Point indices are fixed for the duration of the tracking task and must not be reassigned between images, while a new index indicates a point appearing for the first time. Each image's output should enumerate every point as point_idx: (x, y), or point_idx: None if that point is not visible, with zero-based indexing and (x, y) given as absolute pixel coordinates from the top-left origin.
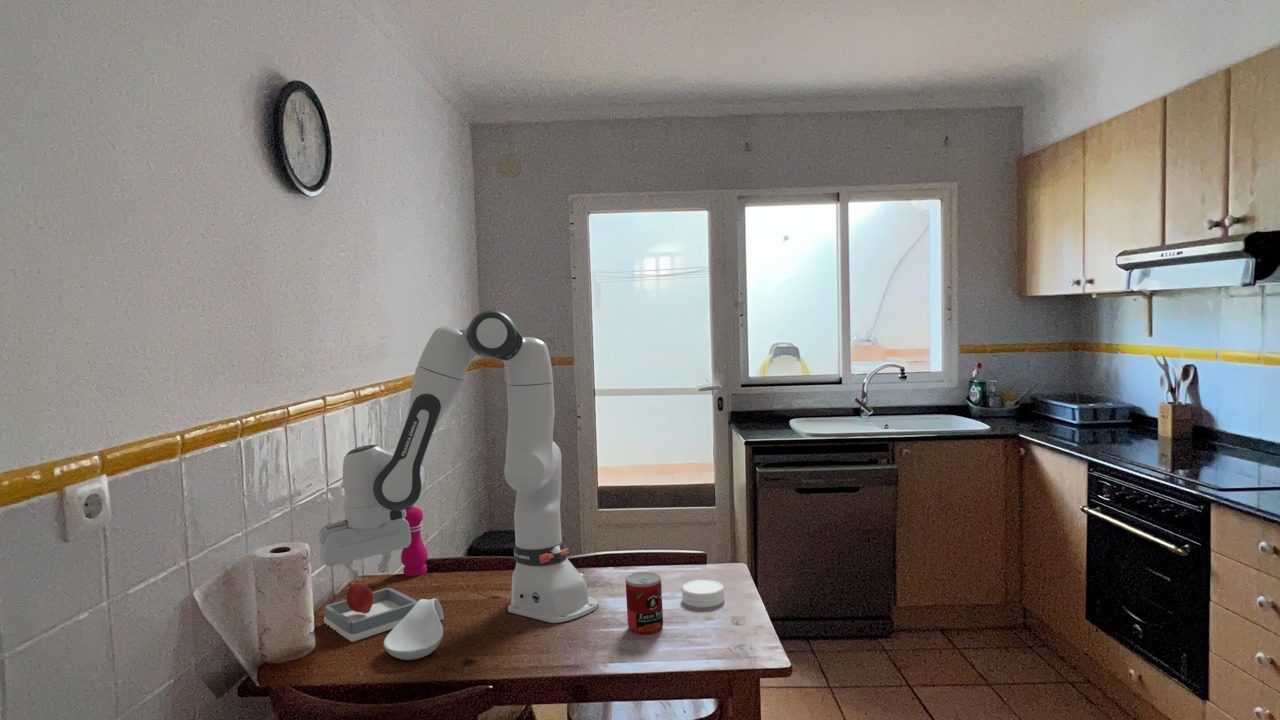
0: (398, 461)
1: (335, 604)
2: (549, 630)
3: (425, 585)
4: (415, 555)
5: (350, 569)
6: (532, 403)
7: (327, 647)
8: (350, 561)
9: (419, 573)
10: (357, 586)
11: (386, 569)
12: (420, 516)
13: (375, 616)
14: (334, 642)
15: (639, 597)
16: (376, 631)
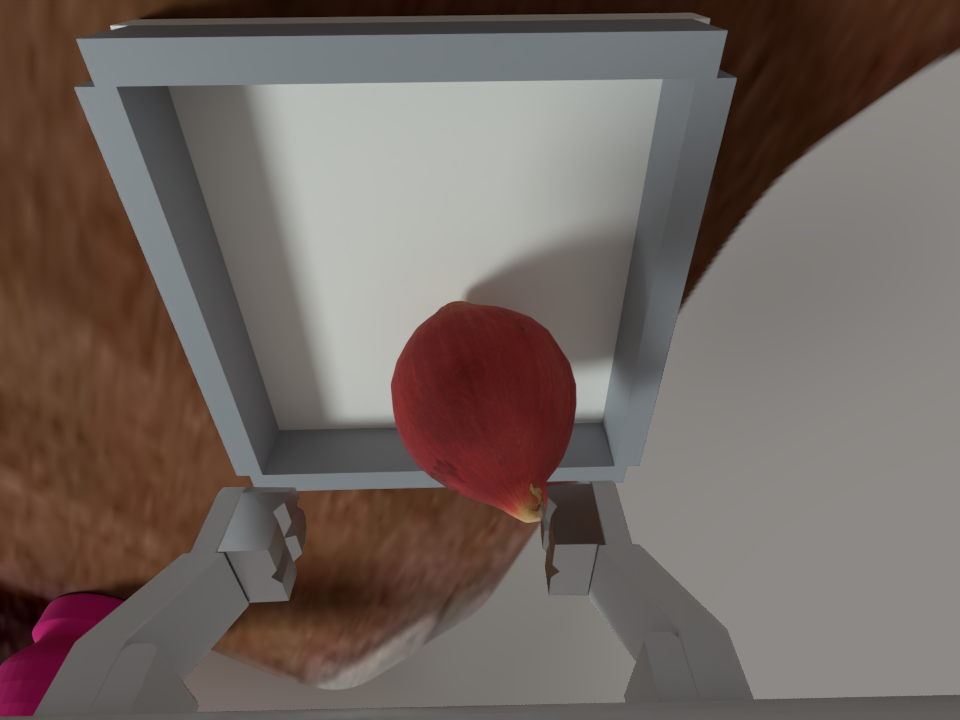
0: None
1: (578, 466)
2: None
3: (63, 498)
4: (41, 694)
5: (664, 584)
6: None
7: (827, 70)
8: (693, 700)
9: (80, 600)
10: (507, 463)
11: (223, 496)
12: None
13: (514, 31)
14: (749, 121)
15: None
16: (504, 18)
